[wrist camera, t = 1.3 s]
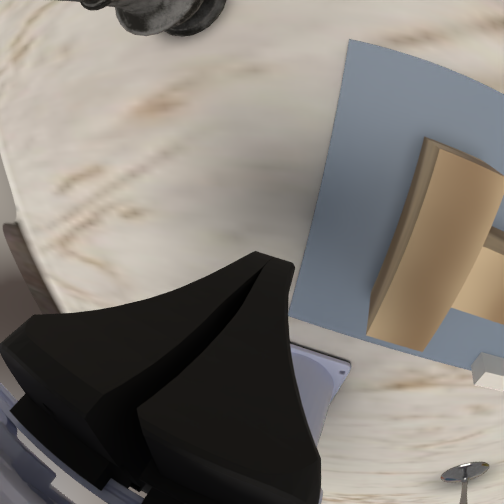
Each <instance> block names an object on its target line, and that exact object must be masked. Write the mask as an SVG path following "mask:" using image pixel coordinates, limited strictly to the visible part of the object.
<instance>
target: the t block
mask: <svg viewBox="0 0 504 504" xmlns="http://www.w3.org/2000/svg"><path fill="white" fill-rule="evenodd" d="M503 195H504V175H502V174H501V173H500V172H498V171H497V170H495V169H494V168H493V167H491V166H490V165H488V164H487V163H485V162H484V161H482V160H481V159H479V158H476V157H474V156H472V155H470V154H467V153H465V152H463V151H460V150H458V149H455V148H453V147H451V146H448V145H446V144H443V143H440V142H438V141H435V140H433V139H430V138H427V137H425V136H424V140H423V144H422V148H421V151H420V155H419V159H418V162H417V166H416V169H415V173H414V176H413V179H412V182H411V186H410V189H409V192H408V195H407V198H406V201H405V204H404V207H403V210H402V213H401V216H400V219H399V222H398V225H397V227H396V230H395V233H394V236H393V238H392V241H391V244H390V246H389V249H388V252H387V254H386V257H385V259H384V262H383V264H382V267H381V269H380V272H379V274H378V277H377V279H376V281H375V284H374V286H373V288H372V291H371V295H370V305H369V314H368V323H367V331H366V336H370V337H373V338H376V339H380V340H383V341H386V342H390V343H393V344H396V345H400V346H403V347H407V348H410V349H413V350H417V351H420V352H423V351H424V349H425V348H426V346H427V345H428V343H429V342H430V340H431V339H432V337H433V336H434V334H435V332H436V331H437V329H438V328H439V326H440V325H441V323H442V321H443V320H444V318H445V316H446V315H447V313H448V311H449V310H450V308H454V309H457V310H460V311H463V312H466V313H469V314H472V315H475V316H478V317H481V318H484V319H487V320H490V321H493V322H497V323H500V324H503V325H504V231H502V230H499V229H497V228H495V227H493V226H492V224H493V221H494V219H495V216H496V214H497V211H498V209H499V206H500V204H501V201H502V198H503Z"/></svg>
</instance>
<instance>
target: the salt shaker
mask: <svg viewBox="0 0 504 504" xmlns="http://www.w3.org/2000/svg"><path fill="white" fill-rule="evenodd" d="M60 1H77V2H80V3H81V5H82V6H83V7H84V8H86V9H88V10H99V9H102V8H104V7H106V6H110V7H115V10H116V16H117V18H118V20H119V22H120V24H121V25H122V26H123V28H124V29H125V30H126V31H128V32H130V33H132V34H135V35H143V36H148V35H154V34H158V33H160V32H162V31H165V32H167V33H169V34H171V35H175V36H190V35H193V34H196V33H199V32H201V31H203V30H204V29H206V28H207V27H209V26H210V25H211V24H212V23H213V22H214V21H215V20H216V19H217V18H218V16H219V15H220V13H221V12H222V10H223V8H224V5H225V2H226V0H60Z"/></svg>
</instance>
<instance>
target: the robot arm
mask: <svg viewBox="0 0 504 504" xmlns="http://www.w3.org/2000/svg"><path fill="white" fill-rule="evenodd" d="M294 270H295V266H294V264H293V263H291V262H288V261H285V260H282V259H279V258H275V257H272V256H269V255H266V254H263V253H260V252H257V251H254V252H252V253H250V254H248V255H246V256H244V257H243V258H241V259H239V260H237V261H235V262H233V263H231V264H230V265H228V266H226V267H224V268H222V269H220V270H218V271H216V272H214V273H212V274H210V275H208V276H206V277H204V278H202V279H199V280H197V281H195V282H192V283H190V284H188V285H186V286H183V287H181V288H178V289H176V290H173V291H170V292H167V293H164V294H161V295H158V296H155V297H152V298H149V299H145V300H141V301H137V302H133V303H129V304H124V305H120V306H116V307H111V308H105V309H99V310H93V311H85V312H76V313H63V314H43V315H33V316H32V317H31V318H29V319H28V320H27V321H26V322H25V323H23V324H22V325H21V326H20V327H19V328H18V329H17V330H15V331H14V332H13V333H12V334H11V335H9V336H8V337H7V338H6V339H5V340H4V341H3V342H2V343H0V353H1V355H2V358H3V359H4V361H5V363H6V364H7V366H8V368H9V369H10V371H11V373H12V374H13V376H14V377H15V379H16V380H17V382H18V383H19V385H20V386H21V388H22V389H23V390H24V392H25V393H26V394H25V395H24V396H23V397H22V398H21V399H20V400H19V401H17V400H16V399H15V398H14V397H13V396H12V395H11V393H10V392H9V391H8V390H7V389H6V388H5V387H4V386H3V385H2V384H1V382H0V504H75V503H74V502H73V501H71V500H70V499H69V498H67V497H66V496H65V495H64V494H62V493H61V492H60V491H59V490H57V489H56V488H55V487H54V486H52V485H51V484H50V483H51V482H52V481H53V480H54V478H55V477H56V474H55V473H54V472H53V471H52V470H51V469H50V468H49V467H48V466H47V465H46V464H45V463H44V462H42V461H41V460H40V459H39V458H38V457H37V456H36V455H35V454H34V453H33V452H32V451H30V450H29V449H28V448H27V447H26V446H25V445H24V444H23V443H22V442H21V441H20V440H19V439H18V438H17V428H18V429H19V430H20V431H21V432H22V433H23V434H24V435H25V436H26V437H27V438H28V439H29V440H30V441H31V442H32V443H33V444H34V445H35V446H36V447H37V448H38V449H40V451H42V452H43V453H44V454H45V455H46V456H47V457H48V458H49V459H51V460H52V461H53V462H54V463H55V464H56V465H58V466H59V467H60V468H61V469H62V470H63V471H65V472H66V473H67V474H68V475H70V476H71V477H72V478H73V479H75V480H76V481H78V482H79V483H80V484H81V485H83V486H84V487H86V488H87V489H88V490H89V491H91V492H92V493H93V494H95V495H96V496H98V497H99V498H101V499H102V500H104V501H105V502H107V503H108V504H321V502H322V497H323V490H322V489H321V458H320V455H319V453H318V450H317V445H318V442H319V439H320V435H321V432H322V428H323V425H324V422H325V418H326V414H327V411H328V407H329V404H330V403H331V401H332V400H333V398H334V396H335V395H336V393H337V392H338V390H339V388H340V387H341V385H342V383H343V382H344V380H345V378H346V377H347V375H348V373H349V372H350V369H351V364H350V363H348V362H346V361H342V360H339V359H336V358H333V357H330V356H326V355H323V354H320V353H317V352H314V351H311V350H308V349H305V348H302V347H299V346H296V345H293V344H290V339H289V325H288V295H289V290H290V286H291V282H292V278H293V274H294ZM16 427H17V428H16ZM129 487H132V488H133V489H135V490H137V491H138V492H140V491H143V492H145V493H147V496H146V497H145V499H144V498H142V497H141V496H139V495H137V494H136V493H134V492H132V491H131V490H129V489H128V488H129Z"/></svg>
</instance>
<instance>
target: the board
mask: <svg viewBox="0 0 504 504" xmlns="http://www.w3.org/2000/svg"><path fill="white" fill-rule="evenodd" d="M424 136H425V137H427V138H430V139H433V140H435V141H438V142H440V143H443V144H446V145H448V146H451V147H453V148H455V149H458V150H460V151H463V152H465V153H467V154H470V155H472V156H474V157H476V158H479V159H481V160H482V161H484V162H485V163H487V164H488V165H490V166H491V167H493V168H494V169H495V170H497V171H498V172H500V173H501V174H502V175H504V94H502V93H500V92H498V91H496V90H494V89H492V88H490V87H488V86H486V85H484V84H482V83H480V82H478V81H476V80H473V79H471V78H469V77H467V76H464V75H462V74H460V73H457V72H455V71H452V70H450V69H447V68H445V67H442V66H440V65H437V64H434V63H432V62H429V61H426V60H423V59H420V58H417V57H414V56H411V55H408V54H405V53H401V52H398V51H395V50H391V49H388V48H384V47H380V46H377V45H373V44H369V43H364V42H360V41H356V40H351V39H349V45H348V51H347V57H346V63H345V68H344V74H343V80H342V85H341V91H340V96H339V101H338V106H337V112H336V117H335V122H334V127H333V132H332V136H331V141H330V146H329V151H328V155H327V160H326V165H325V169H324V174H323V178H322V183H321V187H320V191H319V196H318V200H317V204H316V208H315V213H314V217H313V221H312V225H311V229H310V233H309V237H308V241H307V245H306V249H305V253H304V257H303V261H302V264H301V268H300V272H299V276H298V280H297V283H296V287H295V291H294V294H293V298H292V302H291V305H290V309H289V312H288V316H290V317H293V318H296V319H299V320H302V321H305V322H308V323H311V324H314V325H317V326H320V327H323V328H326V329H329V330H332V331H335V332H339V333H342V334H345V335H348V336H351V337H354V338H358V339H361V340H364V341H367V342H371V343H374V344H377V345H381V346H384V347H387V348H391V349H394V350H398V351H401V352H405V353H408V354H412V355H415V356H419V357H422V358H426V359H429V360H433V361H437V362H441V363H444V364H448V365H452V366H456V367H459V368H463V369H467V370H471V371H472V369H471V365H472V363H473V362H474V361H475V360H476V358H477V357H478V356H479V355H480V353H481V352H483V353H487V354H490V355H494V356H497V357H501V358H504V325H503V324H500V323H497V322H493V321H490V320H487V319H484V318H481V317H478V316H475V315H472V314H469V313H466V312H463V311H460V310H457V309H454V308H450V310H449V311H448V313H447V315H446V316H445V318H444V320H443V321H442V323H441V325H440V326H439V328H438V329H437V331H436V332H435V334H434V336H433V337H432V339H431V340H430V342H429V343H428V345H427V346H426V348H425V349H424V351H423V352H420V351H417V350H413V349H410V348H407V347H403V346H400V345H396V344H393V343H390V342H386V341H383V340H380V339H376V338H373V337H370V336H366V331H367V323H368V314H369V305H370V295H371V291H372V288H373V286H374V284H375V281H376V279H377V277H378V274H379V272H380V269H381V267H382V264H383V262H384V259H385V257H386V254H387V252H388V249H389V246H390V244H391V241H392V238H393V236H394V233H395V230H396V227H397V225H398V222H399V219H400V216H401V213H402V210H403V207H404V204H405V201H406V198H407V195H408V192H409V189H410V186H411V182H412V179H413V176H414V173H415V169H416V166H417V162H418V159H419V155H420V151H421V148H422V144H423V140H424ZM492 226H493V227H495V228H497V229H499V230H502V231H504V195H503V198H502V201H501V204H500V206H499V209H498V211H497V214H496V216H495V219H494V221H493V224H492Z"/></svg>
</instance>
